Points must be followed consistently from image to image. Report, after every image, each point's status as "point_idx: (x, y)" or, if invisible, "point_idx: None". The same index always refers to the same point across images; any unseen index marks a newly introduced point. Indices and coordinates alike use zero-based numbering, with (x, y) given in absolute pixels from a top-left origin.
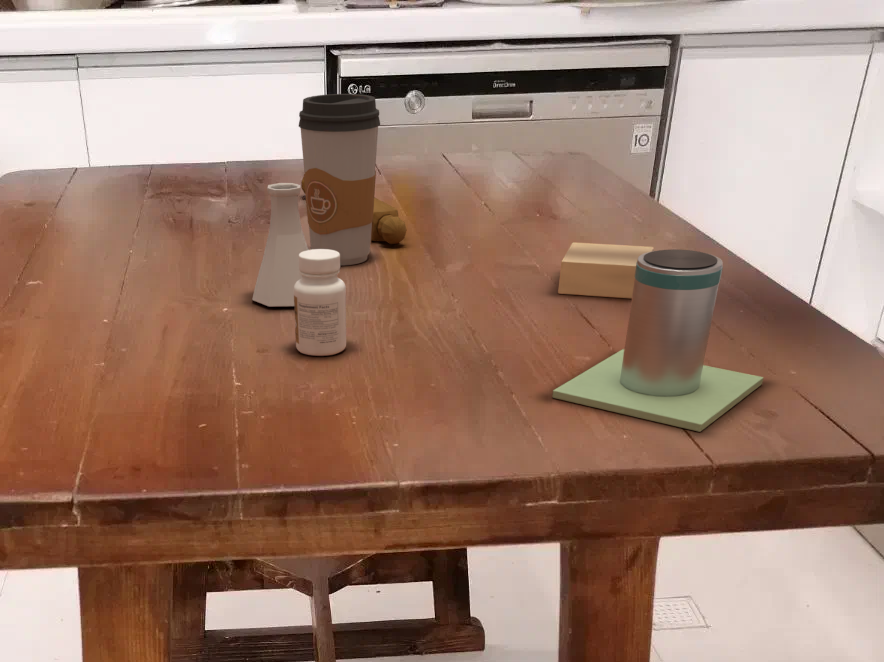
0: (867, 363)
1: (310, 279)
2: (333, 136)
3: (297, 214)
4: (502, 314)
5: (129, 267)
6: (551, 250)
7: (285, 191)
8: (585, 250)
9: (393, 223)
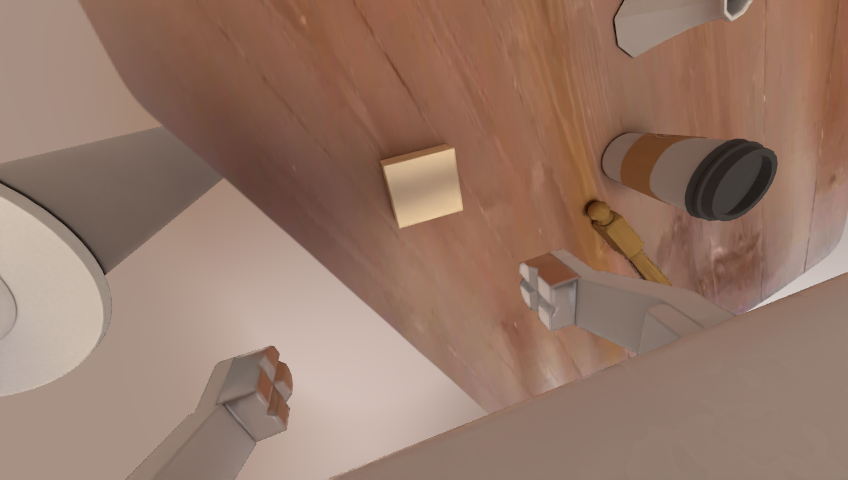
0: (115, 58)
1: None
2: (720, 143)
3: (700, 2)
4: (469, 60)
5: (763, 53)
6: (484, 253)
7: None
8: (446, 190)
9: (602, 207)
